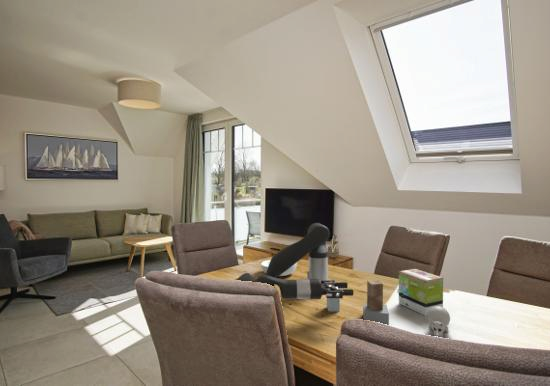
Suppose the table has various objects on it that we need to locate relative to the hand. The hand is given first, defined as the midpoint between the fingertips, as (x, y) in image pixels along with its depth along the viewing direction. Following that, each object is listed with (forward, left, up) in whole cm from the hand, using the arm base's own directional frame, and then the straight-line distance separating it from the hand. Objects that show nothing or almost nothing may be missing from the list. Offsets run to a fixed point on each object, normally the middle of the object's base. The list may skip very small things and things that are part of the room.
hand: (350, 288), depth 126 cm
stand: (+1, +47, -13) cm, 49 cm away
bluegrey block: (-11, +5, -12) cm, 18 cm away
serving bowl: (-64, +28, -13) cm, 71 cm away
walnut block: (+6, +7, -8) cm, 12 cm away
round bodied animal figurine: (+28, +12, -13) cm, 33 cm away
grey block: (+7, +7, -13) cm, 16 cm away
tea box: (+15, +31, -13) cm, 37 cm away
